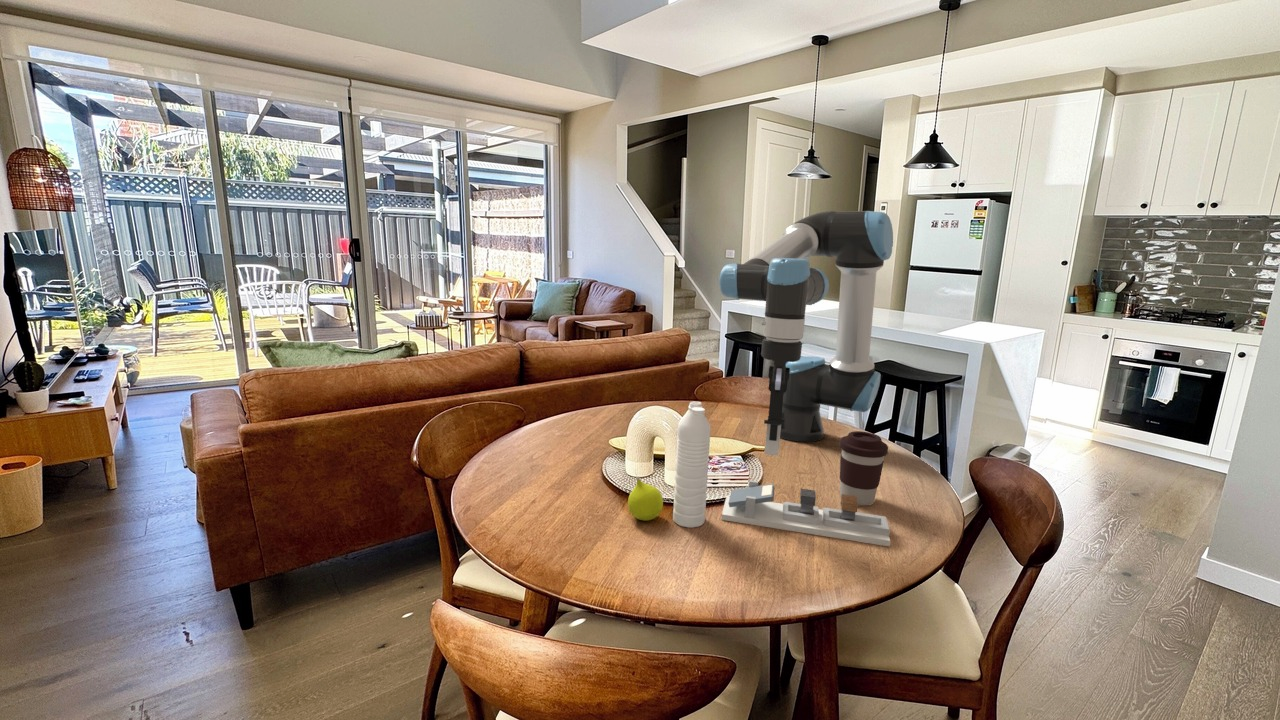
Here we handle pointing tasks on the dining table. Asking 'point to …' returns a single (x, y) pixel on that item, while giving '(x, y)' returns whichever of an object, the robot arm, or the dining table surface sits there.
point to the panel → (809, 520)
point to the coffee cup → (861, 465)
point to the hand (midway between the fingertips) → (771, 453)
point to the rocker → (752, 495)
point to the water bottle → (691, 467)
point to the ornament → (645, 501)
